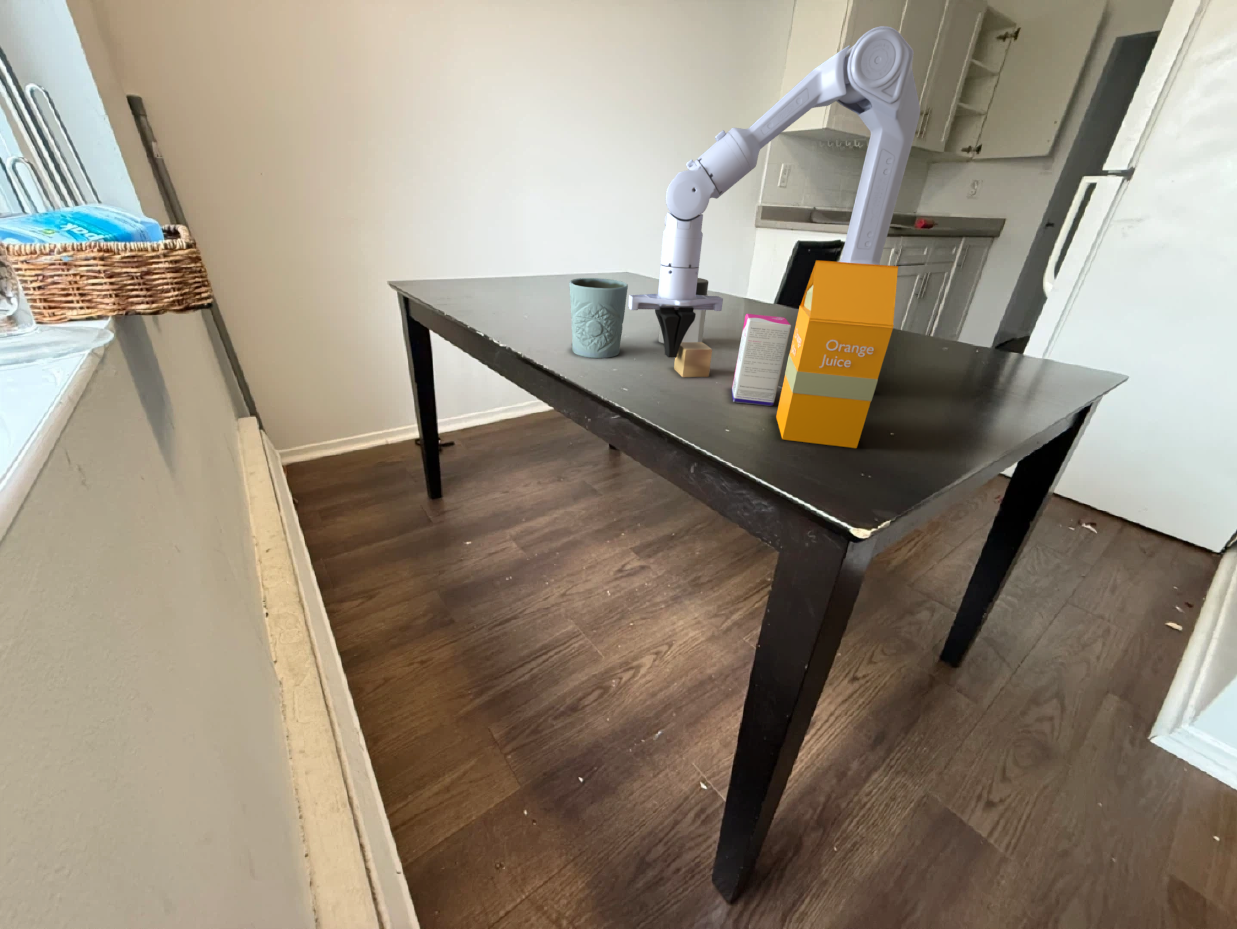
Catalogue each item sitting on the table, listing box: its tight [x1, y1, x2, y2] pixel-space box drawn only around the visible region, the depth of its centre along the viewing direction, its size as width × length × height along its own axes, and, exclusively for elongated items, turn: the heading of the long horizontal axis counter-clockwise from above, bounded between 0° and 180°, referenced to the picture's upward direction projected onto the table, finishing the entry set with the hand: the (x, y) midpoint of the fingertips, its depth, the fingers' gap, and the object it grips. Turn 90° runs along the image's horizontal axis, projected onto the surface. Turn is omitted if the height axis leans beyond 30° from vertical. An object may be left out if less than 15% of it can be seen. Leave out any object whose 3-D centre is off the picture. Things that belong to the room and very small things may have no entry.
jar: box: [658, 277, 709, 345], centre depth 98 cm, size 9×8×12 cm
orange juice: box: [775, 259, 899, 449], centre depth 60 cm, size 8×9×20 cm
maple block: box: [673, 341, 713, 378], centre depth 83 cm, size 4×4×4 cm
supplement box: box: [731, 313, 792, 407], centre depth 72 cm, size 6×6×12 cm
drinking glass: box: [568, 277, 629, 359], centre depth 89 cm, size 10×10×12 cm
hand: (670, 355), depth 81 cm, fingers closed
